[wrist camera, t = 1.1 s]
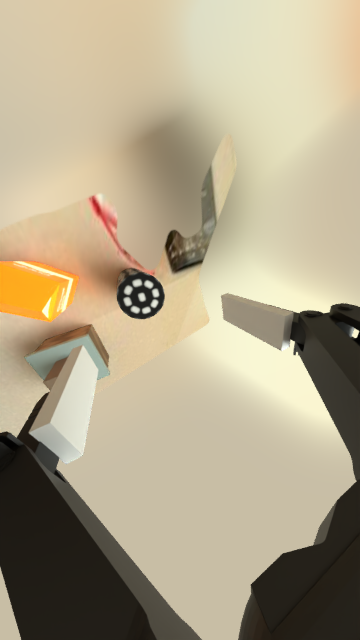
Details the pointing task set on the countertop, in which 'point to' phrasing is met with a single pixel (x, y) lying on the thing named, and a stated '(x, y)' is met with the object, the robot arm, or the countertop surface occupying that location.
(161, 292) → the white-spotted black cylinder
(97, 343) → the storage box
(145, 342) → the countertop surface
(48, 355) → the lid
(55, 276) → the orange juice
